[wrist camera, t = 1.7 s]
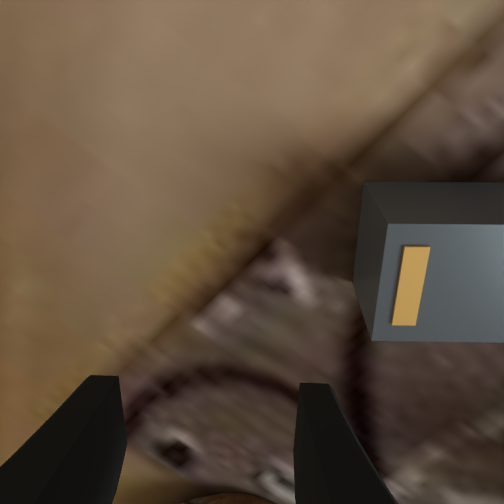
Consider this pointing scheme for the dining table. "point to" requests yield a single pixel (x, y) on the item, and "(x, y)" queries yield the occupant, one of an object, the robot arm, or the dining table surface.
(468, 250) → the grey cube with stripe
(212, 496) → the bread roll
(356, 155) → the dining table surface
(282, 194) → the dining table surface
